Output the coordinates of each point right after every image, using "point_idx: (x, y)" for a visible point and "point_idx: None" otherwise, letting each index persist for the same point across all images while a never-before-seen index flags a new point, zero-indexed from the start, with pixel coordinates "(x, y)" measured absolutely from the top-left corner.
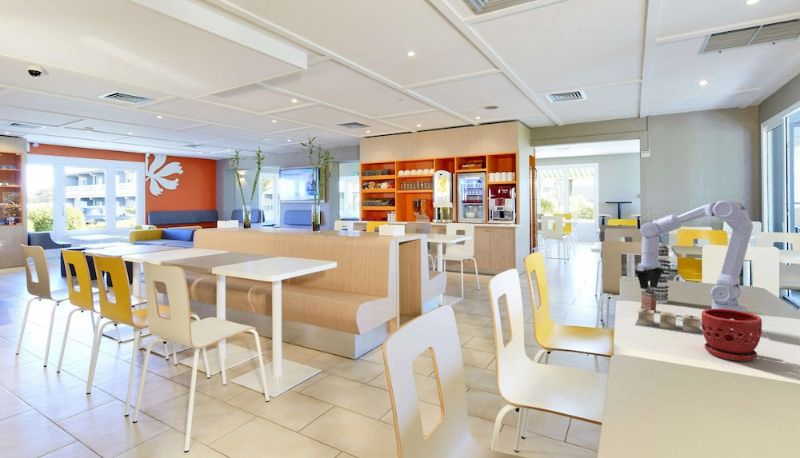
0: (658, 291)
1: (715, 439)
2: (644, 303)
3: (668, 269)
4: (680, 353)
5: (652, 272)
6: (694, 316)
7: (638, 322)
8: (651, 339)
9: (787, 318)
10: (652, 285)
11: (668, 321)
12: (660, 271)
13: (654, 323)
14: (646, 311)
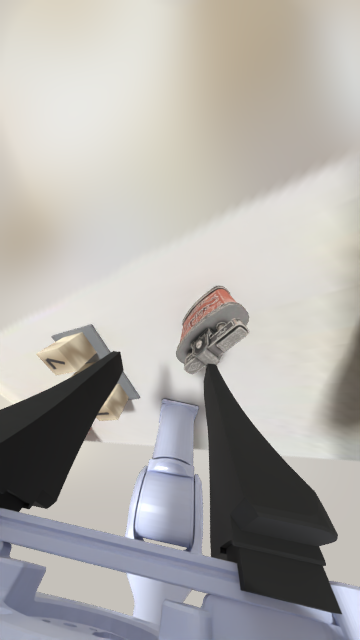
0: None
1: None
2: (198, 309)
3: None
4: (24, 394)
5: (220, 476)
6: (110, 415)
7: (60, 339)
8: (27, 367)
9: (327, 455)
10: (206, 375)
11: None
12: (211, 527)
13: (96, 353)
14: (51, 364)
